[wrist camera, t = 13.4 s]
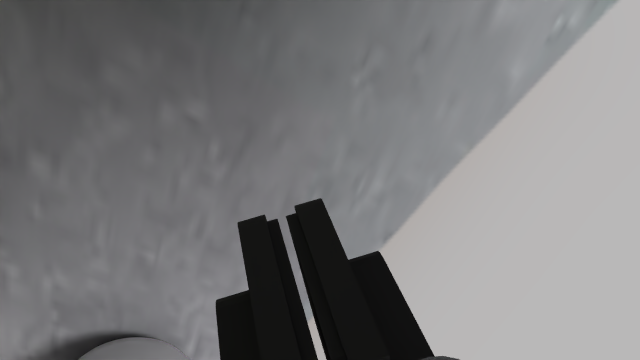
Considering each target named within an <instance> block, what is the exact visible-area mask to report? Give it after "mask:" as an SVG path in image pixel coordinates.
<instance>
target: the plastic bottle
mask: <svg viewBox="0 0 640 360" xmlns="http://www.w3.org/2000/svg"><path fill="white" fill-rule="evenodd" d="M78 360H191V359H190V358H188V357H187V356H186V355H185V354H183V353H182V352H181V351H180V350H178V349H177V348H176V347H175V346H173V345H171V344H169V343H167V342H164V341H161V340H157V339H153V338H145V337H129V338H123V339H117V340H114V341H110V342H107V343H104V344H102V345H100V346H98V347H95V348H93V349H92V350H90V351H89V352H87V353H86V354H84V355H83V356H82V357H80V358H79V359H78Z"/></svg>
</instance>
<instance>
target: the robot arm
mask: <svg viewBox="0 0 640 360" xmlns="http://www.w3.org/2000/svg"><path fill="white" fill-rule="evenodd" d="M295 211H296V213H295V214H292V215H288V216H286V218H287V222H288V225H289V229H290V233H291V236H292V240H293V244H294V247H295V251H296V254H297V258H298V262H299V265H300V269H301V272H302V276H303V280H304V283H305V287H306V291H307V294H308V298H309V301H310V305H311V309H312V312H313V316H314V319H315V323H316V326H317V329H318V333H319V336H320V339H321V342H322V346H323V349H324V353H325V355H326V359H327V360H459V359H455V358H450V357H446V356H438V357H435V356H434V354H433V352H432V350H431V349H430V347H429V345H428V343H427V341H426V339H425V337H424V335H423V333H422V331H421V329H420V328H419V326H418V324H417V322H416V320H415V318H414V316H413V314H412V312H411V310H410V308H409V306H408V304H407V303H406V301H405V299H404V297H403V295H402V293H401V291H400V289H399V287H398V285H397V284H396V282H395V280H394V278H393V276H392V274H391V272H390V270H389V268H388V266H387V264H386V262H385V261H384V258H383V257H382V255H381V253H380V252H379V251H376V252H373V253H370V254H366V255H363V256H360V257H356V258H353V259H350V260H348V259H347V256H346V254H345V252H344V249H343V247H342V245H341V242H340V240H339V238H338V235H337V233H336V231H335V228H334V226H333V224H332V221H331V219H330V217H329V214H328V212H327V210H326V208H325V205H324V203H323V201H322V199H321V198H320V199H317V200H313V201H310V202H306V203H303V204H299V205H296V206H295ZM238 229H239V235H240V241H241V247H242V252H243V258H244V264H245V270H246V275H247V281H248V287H249V290H247V291H244V292H241V293H238V294H234V295H231V296H228V297H224V298H221V299H218V300H216V316H217V326H218V337H219V348H220V359H221V360H318V358H317V355H316V351H315V348H314V345H313V341H312V338H311V334H310V330H309V327H308V323H307V320H306V316H305V313H304V309H303V306H302V303H301V299H300V296H299V292H298V289H297V285H296V282H295V278H294V275H293V271H292V268H291V264H290V261H289V257H288V254H287V250H286V247H285V243H284V240H283V237H282V233H281V230H280V226H279V223H278V219H274V220H271V221H268V222H267V220H266V217H265V215H261V216H258V217H255V218H251V219H248V220H244V221H241V222H238Z"/></svg>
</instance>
